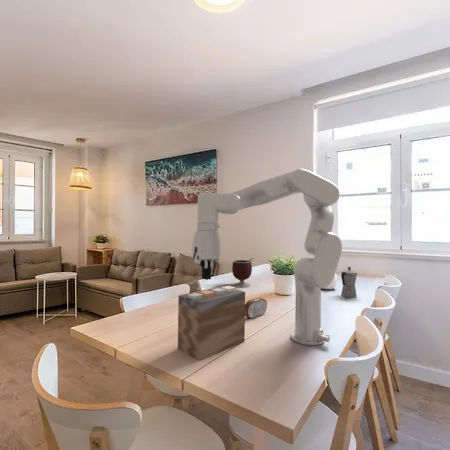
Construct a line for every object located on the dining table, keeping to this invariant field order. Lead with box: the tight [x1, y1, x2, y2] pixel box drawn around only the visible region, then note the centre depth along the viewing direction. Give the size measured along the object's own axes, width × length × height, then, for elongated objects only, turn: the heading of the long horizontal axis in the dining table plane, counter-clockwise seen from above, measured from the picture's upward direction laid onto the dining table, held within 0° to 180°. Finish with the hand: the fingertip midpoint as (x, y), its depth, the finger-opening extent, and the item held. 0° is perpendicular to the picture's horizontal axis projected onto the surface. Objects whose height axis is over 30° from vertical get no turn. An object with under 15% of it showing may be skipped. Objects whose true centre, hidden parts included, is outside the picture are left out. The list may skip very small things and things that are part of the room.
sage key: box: [186, 292, 203, 300], centre depth 101 cm, size 4×4×2 cm
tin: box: [245, 297, 268, 319], centre depth 140 cm, size 15×3×8 cm, turn 135°
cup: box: [321, 272, 338, 290], centre depth 201 cm, size 13×13×14 cm
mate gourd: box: [231, 257, 255, 288], centre depth 206 cm, size 16×14×20 cm
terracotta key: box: [200, 289, 215, 297], centre depth 105 cm, size 4×4×2 cm
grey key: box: [210, 287, 226, 294], centre depth 109 cm, size 4×4×2 cm
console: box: [177, 286, 246, 362], centre depth 107 cm, size 12×22×19 cm, turn 134°
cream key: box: [221, 285, 237, 292], centre depth 113 cm, size 4×4×2 cm
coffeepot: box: [340, 266, 358, 299], centre depth 180 cm, size 15×9×18 cm, turn 129°
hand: (206, 278), depth 105 cm, fingers closed
